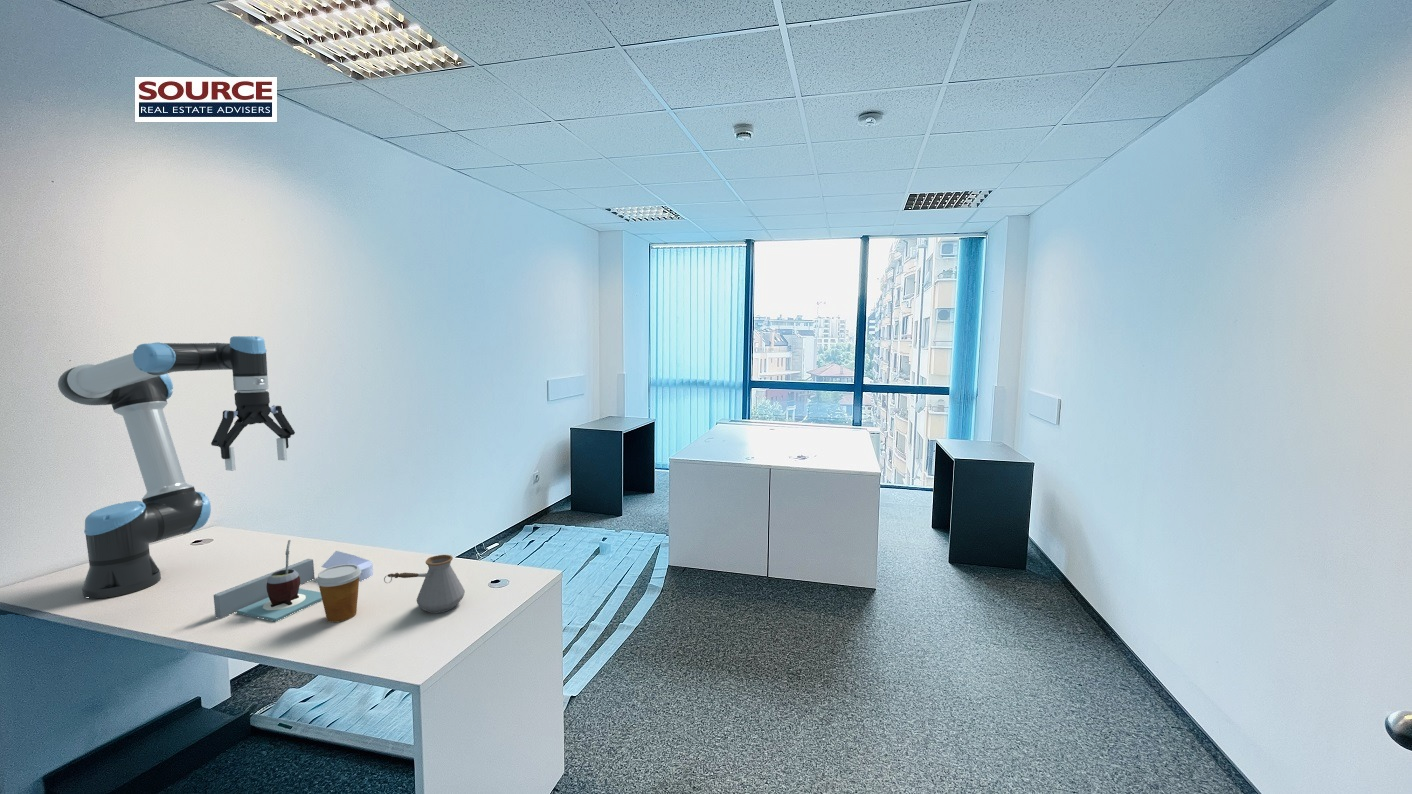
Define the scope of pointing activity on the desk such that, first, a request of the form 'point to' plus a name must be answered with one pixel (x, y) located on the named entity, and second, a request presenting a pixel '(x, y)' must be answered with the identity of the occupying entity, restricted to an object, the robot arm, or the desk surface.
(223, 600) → the low wall
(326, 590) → the disposable coffee cup
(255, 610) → the mat
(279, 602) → the mate gourd
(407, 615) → the desk surface
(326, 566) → the wedge on round base
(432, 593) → the coffee pot
